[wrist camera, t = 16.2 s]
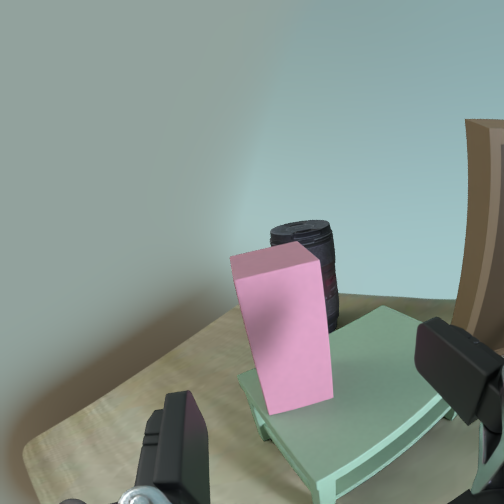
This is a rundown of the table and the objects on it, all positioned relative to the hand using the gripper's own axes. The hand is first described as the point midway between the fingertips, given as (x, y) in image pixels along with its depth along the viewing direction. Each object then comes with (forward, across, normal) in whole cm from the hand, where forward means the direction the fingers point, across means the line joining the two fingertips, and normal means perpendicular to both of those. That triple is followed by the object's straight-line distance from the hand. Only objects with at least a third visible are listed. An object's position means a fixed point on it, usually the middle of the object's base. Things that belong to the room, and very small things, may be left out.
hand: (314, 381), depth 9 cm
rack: (+8, -6, +16) cm, 19 cm away
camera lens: (+29, -7, +16) cm, 34 cm away
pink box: (+9, 0, +8) cm, 12 cm away
